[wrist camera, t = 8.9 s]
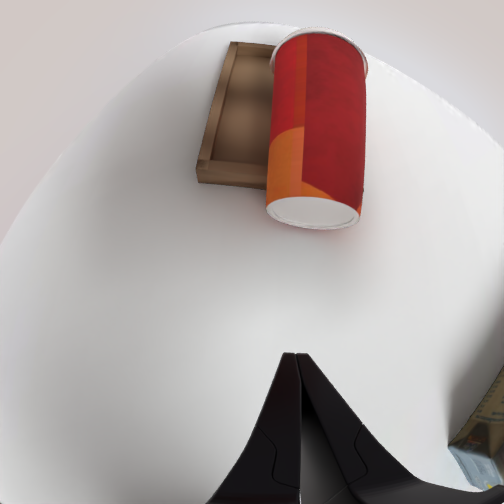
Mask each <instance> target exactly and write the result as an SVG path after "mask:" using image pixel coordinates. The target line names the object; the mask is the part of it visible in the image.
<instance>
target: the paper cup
mask: <svg viewBox="0 0 504 504" xmlns="http://www.w3.org/2000/svg"><path fill="white" fill-rule="evenodd" d="M270 69H271V71H272V73H273V75H274V84H273V99H272V113H271V128H270V143H269V158H268V173H267V192H266V211H267V213H268V214H269V215H270V216H271V217H272V218H274V219H276V220H278V221H280V222H283V223H285V224H289V225H292V226H297V227H302V228H309V229H322V230H329V229H341V228H346V227H349V226H352V225H354V224H356V223H357V222H358V221H359V218H360V213H361V206H362V196H363V185H364V168H365V141H366V84H365V79H366V76H367V73H368V63H367V60H366V57H365V55H364V53H363V52H362V51H361V49H360V48H359V47H358V46H357V45H356V44H355V43H354V42H353V41H352V40H351V39H350V38H348V37H347V36H345V35H344V34H342V33H340V32H338V31H335V30H332V29H329V28H323V27H309V28H303V29H300V30H297V31H295V32H293V33H291V34H289V35H288V36H287V37H286V38H285V39H284V40H282V41H281V42H280V43H279V44H278V45H277V46H276V47H275V49H274V51H273V53H272V57H271V60H270Z"/></svg>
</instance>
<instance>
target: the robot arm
mask: <svg viewBox="0 0 504 504" xmlns="http://www.w3.org/2000/svg"><path fill="white" fill-rule="evenodd" d="M299 489H300V490H299ZM300 496H301V504H502V503H503V502H504V486H503V485H500V484H498V485H495V486H494V487H492V488H490V489H488V490H486V491H483V492H467V491H462V490H457V489H453V488H448V487H444V486H439V485H435V484H431V483H428V482H425V481H422V480H420V479H418V478H417V477H415V476H414V475H413V474H411V473H410V472H409V471H408V470H407V469H406V468H405V467H404V466H403V465H402V464H401V463H399V462H398V461H397V460H396V459H395V458H394V457H393V456H392V455H391V454H390V453H389V452H388V451H387V450H386V449H385V448H384V447H383V446H382V445H381V444H380V443H379V442H378V441H377V440H376V438H375V437H374V436H373V435H372V434H371V433H370V431H369V430H368V429H367V428H366V426H365V425H364V424H362V422H361V420H360V419H359V418H358V417H357V415H356V414H355V413H354V412H353V410H352V409H351V408H350V407H349V405H348V404H347V403H346V401H345V400H344V399H343V398H342V396H341V395H340V394H339V393H338V391H337V390H336V389H335V388H334V386H333V385H332V384H331V382H330V381H329V380H328V379H327V377H326V376H325V375H324V374H323V372H322V371H321V370H320V368H319V367H318V366H317V365H316V363H315V362H314V361H313V359H312V358H311V357H310V356H309V354H307V353H296V354H295V353H286V352H284V353H283V354H282V357H281V360H280V363H279V365H278V368H277V371H276V373H275V376H274V379H273V381H272V384H271V387H270V389H269V392H268V394H267V397H266V399H265V402H264V405H263V407H262V410H261V412H260V415H259V417H258V419H257V422H256V424H255V427H254V429H253V431H252V434H251V436H250V438H249V440H248V442H247V444H246V447H245V448H244V450H243V452H242V454H241V455H240V457H239V458H238V460H237V462H236V463H235V465H234V466H233V468H232V469H231V471H230V472H229V473H228V475H227V476H226V478H225V479H224V481H223V482H222V484H221V485H220V486H219V488H218V489H217V490H216V492H215V493H214V494H213V496H212V497H211V498H210V499H209V500H208V501H207V503H206V504H300ZM0 504H2V503H0Z"/></svg>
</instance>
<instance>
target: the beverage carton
mask: <svg viewBox="0 0 504 504" xmlns="http://www.w3.org/2000/svg"><path fill="white" fill-rule="evenodd" d="M448 449H449V450H450V452H451V453H452V455H453V456H454V458H455V459H456V461H457V462H458V464H459V466H460V467H461V469H462V471H463V473H464V475H465V476H466V478H467V480H468V482H469V483H470V484H471V485H472V486H475V487H477V488H479V489H481V490H483V491H486V490H488V489H490V488H492V487H494V486H495V485H498V484H500V485H503V486H504V367H503V368H502V370H501V372H500V373H499V375H498V377H497V378H496V380H495V382H494V383H493V385H492V386H491V388H490V389H489V391H488V392H487V394H486V395H485V397H484V398H483V400H482V402H481V403H480V404H479V406H478V407H477V409H476V410H475V411H474V413H473V414H472V416H471V417H470V419H469V420H468V421H467V423H466V424H465V426H464V427H463V428H462V429H461V431H460V432H459V433H458V434H457V436H456V437H455V438H454V439H453V441H452V442H451V443H450V444H449V445H448Z"/></svg>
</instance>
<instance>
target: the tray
mask: <svg viewBox="0 0 504 504" xmlns="http://www.w3.org/2000/svg"><path fill="white" fill-rule="evenodd" d="M275 47H276V46H273V45H265V44H255V43H245V42H230V46H229V49H228V52H227V55H226V58H225V61H224V65H223V68H222V71H221V74H220V78H219V81H218V85H217V88H216V92H215V95H214V99H213V102H212V106H211V110H210V113H209V117H208V121H207V125H206V128H205V132H204V136H203V140H202V144H201V148H200V153H199V157H198V161H197V165H196V173H197V179H198V183H209V184H220V185H229V186H239V187H248V188H256V189H264V190H267V173H268V158H269V143H270V128H271V113H272V99H273V84H274V75H273V73H272V71H271V69H270V60H271V57H272V53H273V51H274V49H275ZM363 192H364V188H363Z"/></svg>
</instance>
